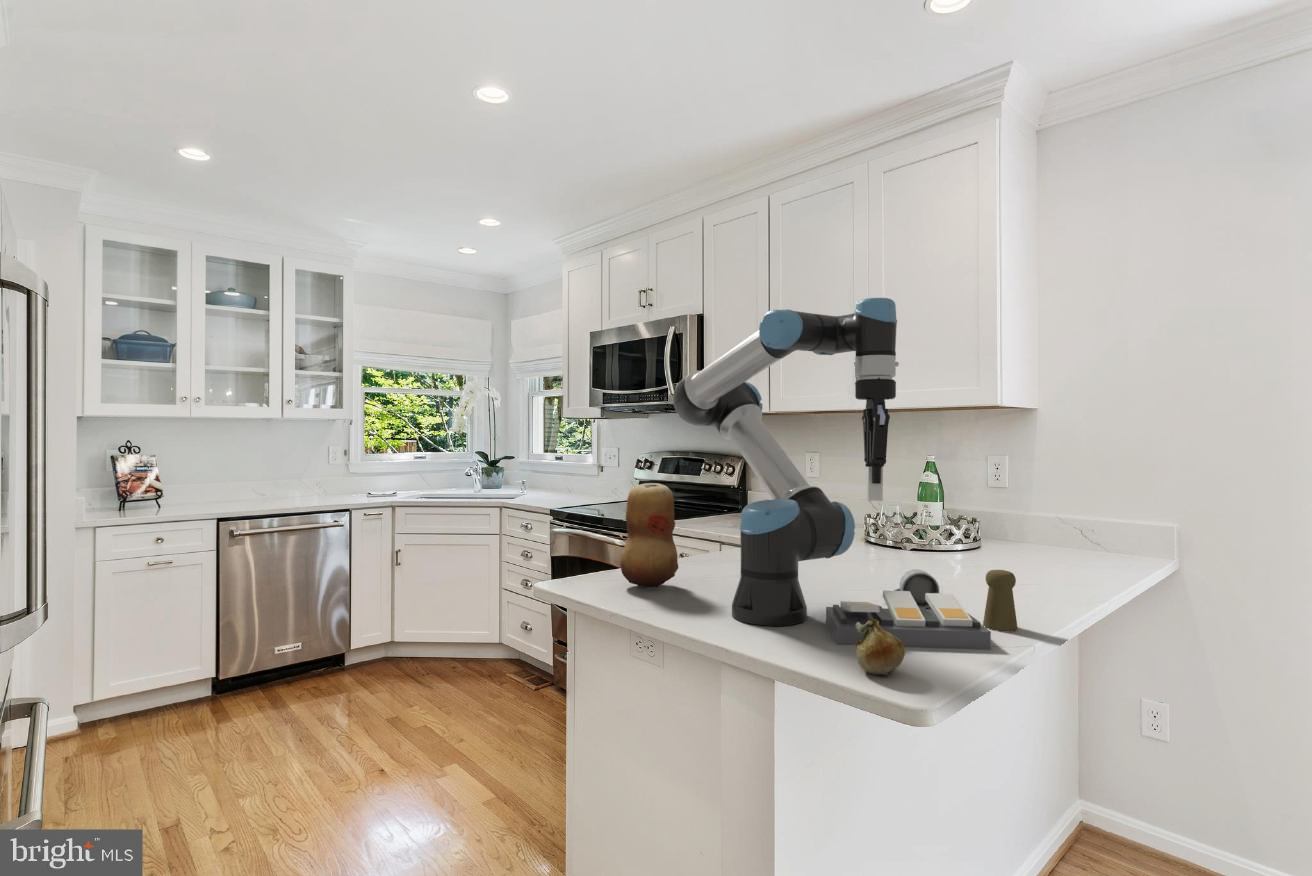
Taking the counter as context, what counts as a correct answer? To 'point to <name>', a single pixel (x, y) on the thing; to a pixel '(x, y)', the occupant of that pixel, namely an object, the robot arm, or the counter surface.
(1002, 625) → the cork
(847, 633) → the rocker switch panel
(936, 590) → the ceramic mug
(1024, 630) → the counter surface
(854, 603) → the left rocker
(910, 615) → the block
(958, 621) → the right rocker
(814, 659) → the counter surface
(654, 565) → the butternut squash
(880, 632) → the onion
